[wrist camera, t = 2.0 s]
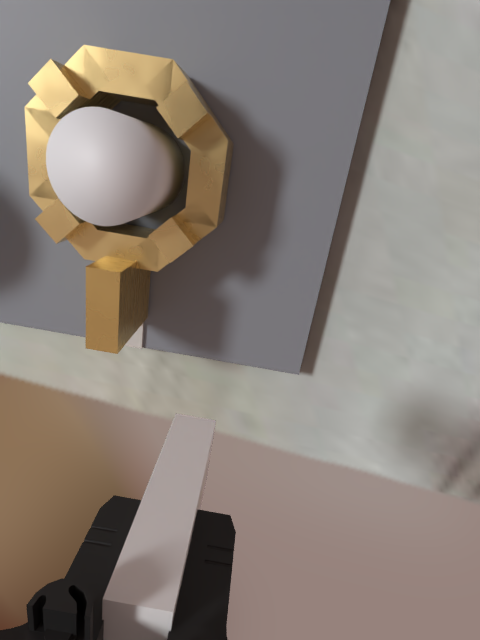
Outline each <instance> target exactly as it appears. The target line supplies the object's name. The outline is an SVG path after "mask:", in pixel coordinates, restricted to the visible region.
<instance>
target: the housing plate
mask: <svg viewBox="0 0 480 640" xmlns="http://www.w3.org/2000/svg"><path fill="white" fill-rule="evenodd" d="M389 4H390V0H0V322H2V323H8V324H13V325H19V326H25V327H31V328H36V329H42V330H48V331H53V332H59V333H65V334H70V335H76V336H82V337H86V266H88V265H90V264H92V263H93V262H95V261H92V260H86V259H84V258H83V257H82V256H81V255H80V254H79V253H78V251H77V250H76V249H75V248H74V247H73V246H72V244H71V243H70V242H69V241H68V240H66V241H63V242H60V243H57V244H56V243H55V242H54V240H53V239H52V238H51V237H50V236H49V235H48V234H47V232H46V231H45V230H44V229H43V228H42V227H41V226H40V224H39V223H38V222H37V221H36V220H35V218H36V217H37V216H38V215H40V214H41V213H42V212H43V211H42V210H41V208H40V207H39V206H38V205H37V204H36V203H35V201H34V200H33V199H32V198H31V197H30V196H29V179H28V161H27V142H26V124H25V106H26V105H27V104H28V103H29V102H30V101H31V100H32V98H33V97H34V96H35V95H36V93H35V92H34V90H33V89H32V88H31V87H30V85H29V84H28V83H29V81H30V80H31V79H32V78H33V77H34V76H35V75H36V74H37V73H38V72H39V71H40V70H41V69H42V68H43V66H44V65H45V64H46V63H47V62H48V61H49V60H50V59H53V60H55V61H57V62H59V63H61V64H63V65H65V64H66V63H67V62H68V61H69V60H70V58H71V57H72V56H73V55H74V54H75V53H76V52H77V51H78V50H79V49H80V48H81V47H82V46H83V45H89V46H95V47H101V48H107V49H113V50H119V51H125V52H132V53H138V54H144V55H150V56H156V57H162V58H169V59H173V60H174V61H175V62H176V63H177V64H178V65H179V66H180V67H181V68H182V69H183V70H184V71H185V73H186V74H187V75H188V77H189V78H190V79H191V81H192V82H193V84H194V85H195V87H196V88H197V90H198V91H199V93H200V94H201V96H202V97H203V99H204V100H205V102H206V103H207V105H208V106H209V108H210V109H211V111H212V112H213V114H214V115H215V117H216V118H217V120H218V121H219V123H220V124H221V126H222V127H223V129H224V130H225V132H226V133H227V135H228V136H229V138H230V139H231V141H232V142H233V144H234V145H233V153H232V160H231V168H230V175H229V183H228V190H227V198H226V205H225V212H224V220H223V221H222V222H221V223H220V224H219V225H218V227H217V228H215V229H214V230H213V231H211V232H210V233H209V234H207V235H206V236H205V237H203V238H202V239H201V240H199V241H198V242H197V243H196V244H195V245H194V246H193V247H191V248H190V249H189V250H187V251H186V252H185V253H183V254H182V255H181V256H179V257H178V258H177V259H175V260H174V261H173V262H171V263H169V264H167V265H166V266H165V267H163V268H162V269H161V270H159V271H158V272H156V271H151V273H150V288H149V303H148V318H147V319H146V320H145V321H144V323H143V324H142V325H141V326H140V327H139V329H138V330H137V331H136V332H135V333H134V335H133V336H132V337H131V338H130V339H129V341H128V342H127V343H126V344H125V346H129V347H135V348H140V349H142V347H144V348H150V349H156V350H162V351H167V352H173V353H179V354H184V355H190V356H196V357H201V358H207V359H213V360H218V361H224V362H230V363H236V364H241V365H247V366H253V367H258V368H264V369H270V370H275V371H281V372H287V373H292V374H298V375H299V372H300V368H301V364H302V360H303V355H304V351H305V347H306V343H307V339H308V335H309V331H310V327H311V323H312V319H313V315H314V311H315V306H316V302H317V298H318V294H319V290H320V286H321V282H322V278H323V274H324V270H325V266H326V262H327V257H328V253H329V249H330V245H331V241H332V237H333V233H334V229H335V225H336V221H337V217H338V213H339V208H340V204H341V200H342V196H343V192H344V188H345V184H346V180H347V176H348V172H349V168H350V164H351V159H352V155H353V151H354V147H355V143H356V139H357V135H358V131H359V127H360V123H361V119H362V115H363V111H364V106H365V102H366V98H367V94H368V90H369V86H370V82H371V78H372V74H373V70H374V66H375V62H376V57H377V53H378V49H379V45H380V41H381V37H382V33H383V29H384V25H385V21H386V17H387V13H388V8H389ZM190 156H191V150H190V149H189V147H188V146H187V145H186V143H185V142H184V140H181V139H178V138H177V136H176V135H175V134H174V132H173V131H172V129H171V128H170V127H169V125H168V124H167V122H166V121H165V120H164V118H163V117H162V115H161V114H160V113H159V111H158V110H157V106H151V105H145V104H139V103H133V102H127V101H120V102H119V103H118V104H117V105H116V106H115V107H114V108H113V109H112V110H110V109H106V108H102V107H84V108H79V109H77V110H74V111H72V112H70V113H69V114H67V115H66V116H64V117H63V118H62V119H61V120H60V121H59V122H58V123H57V125H56V126H55V128H54V129H53V131H52V133H51V135H50V137H49V141H48V144H47V150H46V167H47V172H48V177H49V180H50V183H51V185H52V187H53V189H54V191H55V193H56V195H57V196H58V198H59V199H60V201H61V202H62V203H63V204H64V205H65V207H66V208H67V209H68V210H70V211H71V212H72V213H73V214H74V215H76V216H77V217H79V218H80V219H82V220H84V221H86V222H89V223H91V224H95V225H99V226H116V225H121V224H128V225H134V226H140V227H146V228H152V229H157V228H158V227H160V226H161V225H162V224H163V223H165V222H166V221H167V220H169V219H170V218H171V217H173V216H175V215H177V214H178V213H179V212H181V211H182V210H183V209H184V208H186V197H187V187H188V176H189V166H190Z"/></svg>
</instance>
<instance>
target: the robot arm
mask: <svg viewBox="0 0 480 640" xmlns="http://www.w3.org/2000/svg"><path fill="white" fill-rule="evenodd" d="M215 424H216V420H211V419H206V418H200V417H194V416H189V415H183V414H177V413H176V414H175V417H174V419H173V422H172V424H171V427H170V430H169V432H168V435H167V437H166V440H165V442H164V445H163V447H162V450H161V452H160V455H159V457H158V460H157V463H156V465H155V467H154V470H153V473H152V475H151V478H150V480H149V483H148V485H147V488H146V490H145V493H144V496H143V498H142V500H136V499H131V498H125V497H120V496H113V497H112V498H111V499H110V500H109V501H108V502H106V503H105V504H104V505H103V506H102V507H101V508H100V510H99V511H98V513H97V516H96V517H95V520H94V522H93V524H92V526H91V528H90V529H89V531H88V533H87V535H86V537H85V540H84V542H83V543H82V545H81V547H80V549H79V551H78V553H77V555H76V557H75V559H74V561H73V563H72V565H71V567H70V569H69V571H68V573H67V575H66V576H65V578H64V579H60V580H57V581H54V582H51V583H49V584H47V585H46V586H44V587H43V588H42V589H40V590H39V591H38V592H37V593H36V594H35V595H34V596H33V597H32V599H31V600H30V601H29V603H28V604H27V615H28V622H27V623H26V624H24V625H21V626H18V627H14V628H11V629H6V630H0V640H227V636H226V623H227V622H226V621H227V613H228V603H229V593H230V583H231V573H232V562H233V551H234V543H235V533H236V532H235V529H234V526H233V522H232V519H231V516H230V515H225V514H220V513H214V512H209V511H203V510H200V508H201V503H202V498H203V493H204V489H205V484H206V480H207V474H208V468H209V462H210V455H211V448H212V442H213V436H214V430H215Z"/></svg>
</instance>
